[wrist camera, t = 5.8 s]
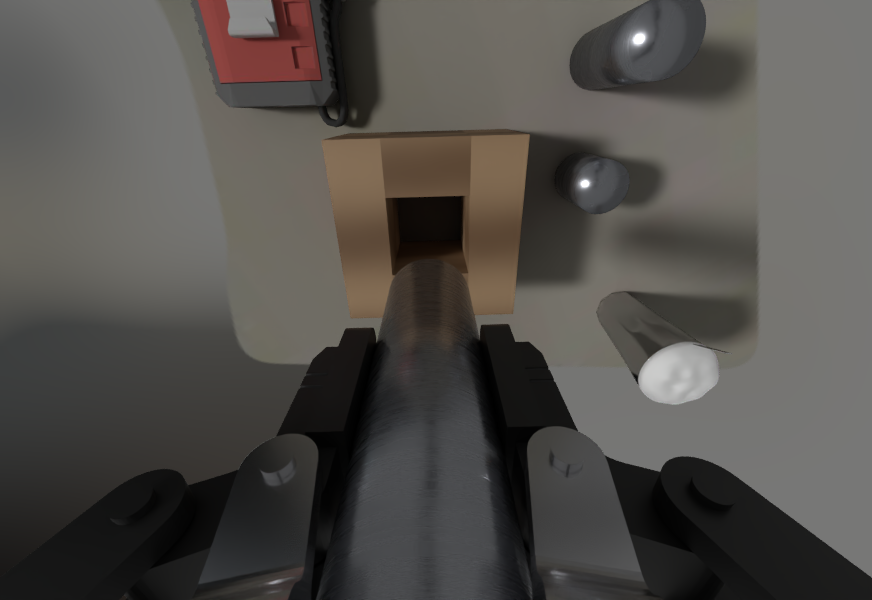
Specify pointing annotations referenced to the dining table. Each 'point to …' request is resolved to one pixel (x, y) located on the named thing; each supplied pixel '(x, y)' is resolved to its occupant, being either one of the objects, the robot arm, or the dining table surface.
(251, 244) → the dining table surface
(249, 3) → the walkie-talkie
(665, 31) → the pin medium
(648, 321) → the milkshake
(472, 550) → the pin long
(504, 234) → the hole block
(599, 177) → the pin short
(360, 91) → the dining table surface
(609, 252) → the dining table surface
